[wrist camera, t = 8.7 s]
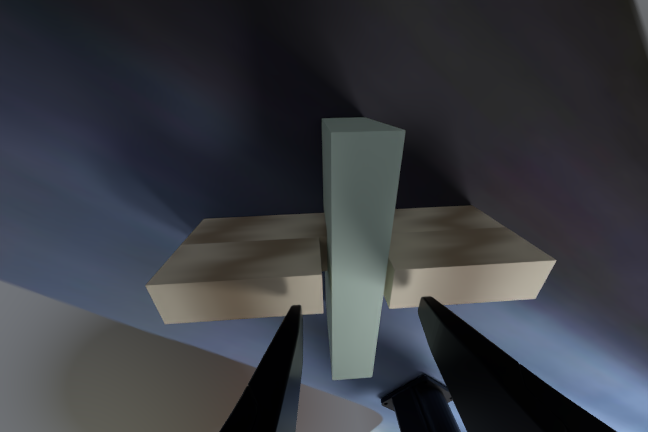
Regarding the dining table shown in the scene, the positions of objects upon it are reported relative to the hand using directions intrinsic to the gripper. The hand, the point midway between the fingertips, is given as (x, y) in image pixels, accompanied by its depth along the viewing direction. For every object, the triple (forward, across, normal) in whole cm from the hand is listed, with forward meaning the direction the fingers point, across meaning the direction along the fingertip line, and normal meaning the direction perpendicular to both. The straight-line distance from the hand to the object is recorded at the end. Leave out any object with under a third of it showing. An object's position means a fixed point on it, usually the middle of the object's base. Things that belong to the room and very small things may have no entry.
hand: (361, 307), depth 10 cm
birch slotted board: (+7, 0, 0) cm, 7 cm away
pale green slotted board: (+7, 0, 0) cm, 7 cm away
